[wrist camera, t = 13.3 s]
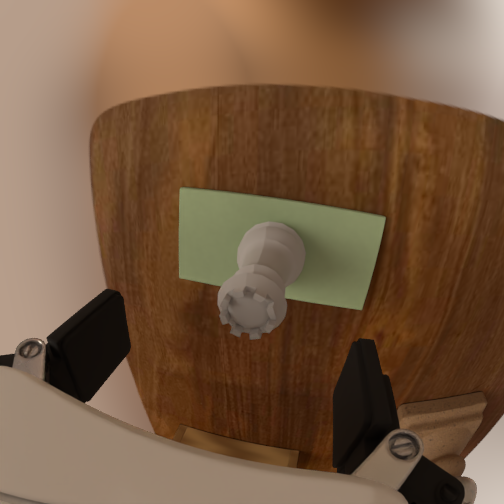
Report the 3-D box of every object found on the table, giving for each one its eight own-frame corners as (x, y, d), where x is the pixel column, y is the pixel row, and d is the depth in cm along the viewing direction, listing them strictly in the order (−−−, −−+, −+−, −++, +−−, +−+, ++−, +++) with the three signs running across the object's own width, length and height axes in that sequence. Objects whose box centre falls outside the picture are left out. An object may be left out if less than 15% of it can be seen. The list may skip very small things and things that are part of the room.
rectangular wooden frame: (185, 454, 34) (178, 469, 31) (180, 423, 31) (171, 441, 28) (285, 476, 32) (282, 493, 29) (299, 450, 28) (296, 470, 26)
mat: (181, 275, 22) (178, 278, 22) (182, 186, 20) (179, 187, 19) (361, 306, 20) (362, 310, 20) (384, 215, 18) (386, 217, 17)
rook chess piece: (236, 221, 19) (189, 269, 12) (304, 217, 18) (296, 267, 11) (244, 282, 21) (208, 352, 14) (307, 280, 20) (300, 356, 13)
